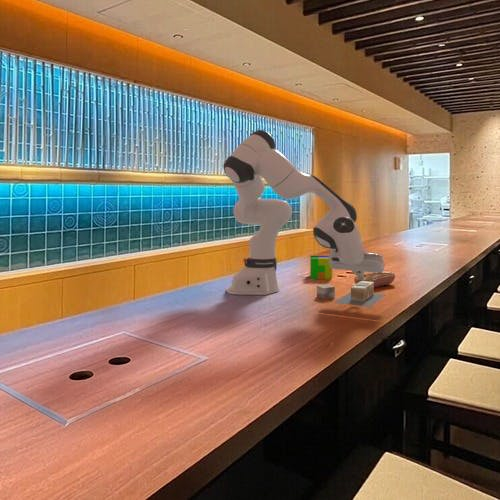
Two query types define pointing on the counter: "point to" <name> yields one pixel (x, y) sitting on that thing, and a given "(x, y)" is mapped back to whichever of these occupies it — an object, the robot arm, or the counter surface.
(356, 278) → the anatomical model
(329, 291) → the grey block
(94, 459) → the counter surface
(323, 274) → the puzzle toy
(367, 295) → the maple block
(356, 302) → the slate mat
